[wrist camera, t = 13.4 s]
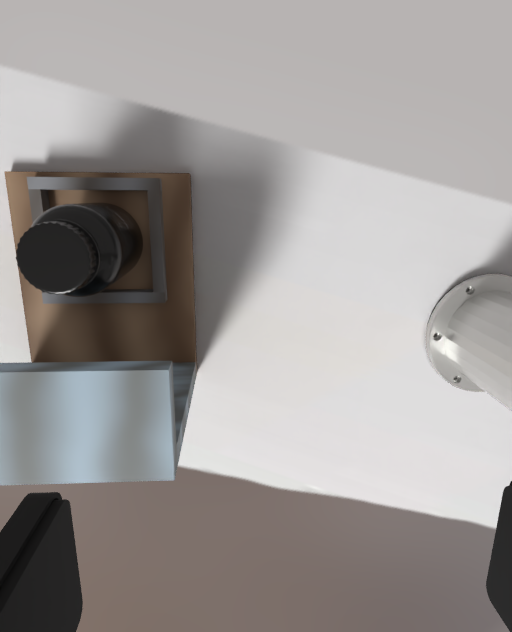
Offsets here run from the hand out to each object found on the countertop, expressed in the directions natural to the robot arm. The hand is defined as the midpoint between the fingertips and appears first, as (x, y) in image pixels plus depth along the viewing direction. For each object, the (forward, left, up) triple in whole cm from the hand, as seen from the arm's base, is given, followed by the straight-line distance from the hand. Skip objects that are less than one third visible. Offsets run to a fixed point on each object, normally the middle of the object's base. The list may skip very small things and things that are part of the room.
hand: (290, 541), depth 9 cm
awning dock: (+13, 0, -33) cm, 36 cm away
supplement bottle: (+13, -4, -32) cm, 35 cm away
